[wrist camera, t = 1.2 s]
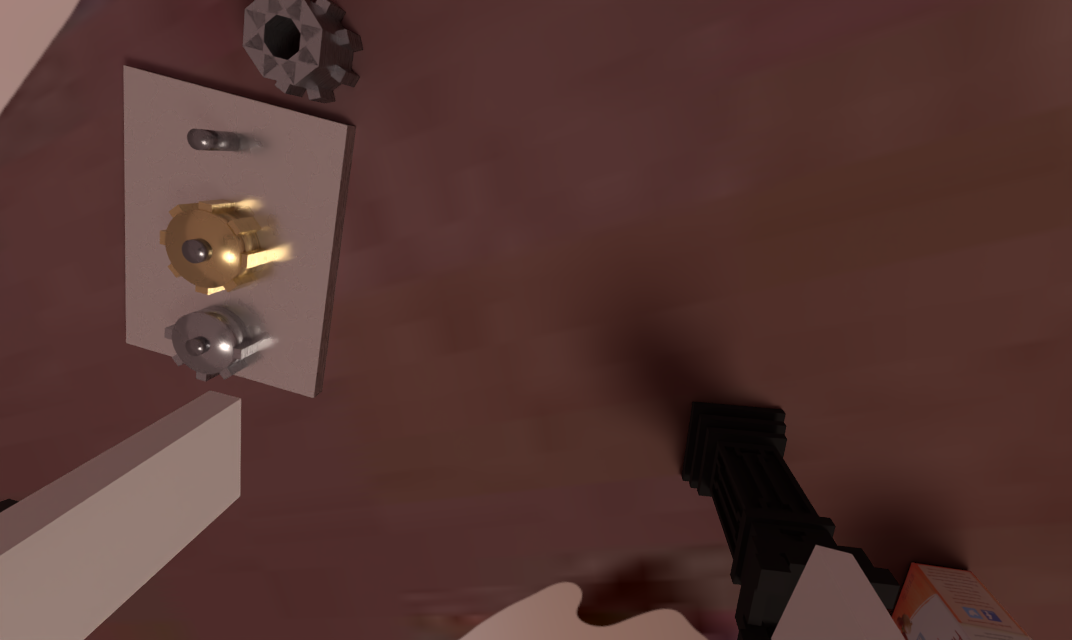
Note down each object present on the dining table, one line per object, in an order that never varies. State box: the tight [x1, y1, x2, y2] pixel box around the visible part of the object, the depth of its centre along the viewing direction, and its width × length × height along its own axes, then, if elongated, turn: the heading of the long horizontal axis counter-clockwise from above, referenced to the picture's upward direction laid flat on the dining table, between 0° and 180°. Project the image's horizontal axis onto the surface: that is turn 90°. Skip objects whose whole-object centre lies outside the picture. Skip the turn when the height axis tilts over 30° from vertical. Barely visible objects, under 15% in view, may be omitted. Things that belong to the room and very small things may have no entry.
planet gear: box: [243, 0, 363, 103], centre depth 40 cm, size 8×8×5 cm
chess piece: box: [682, 402, 900, 640], centre depth 38 cm, size 8×8×20 cm
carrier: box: [124, 65, 356, 398], centre depth 45 cm, size 26×20×6 cm
